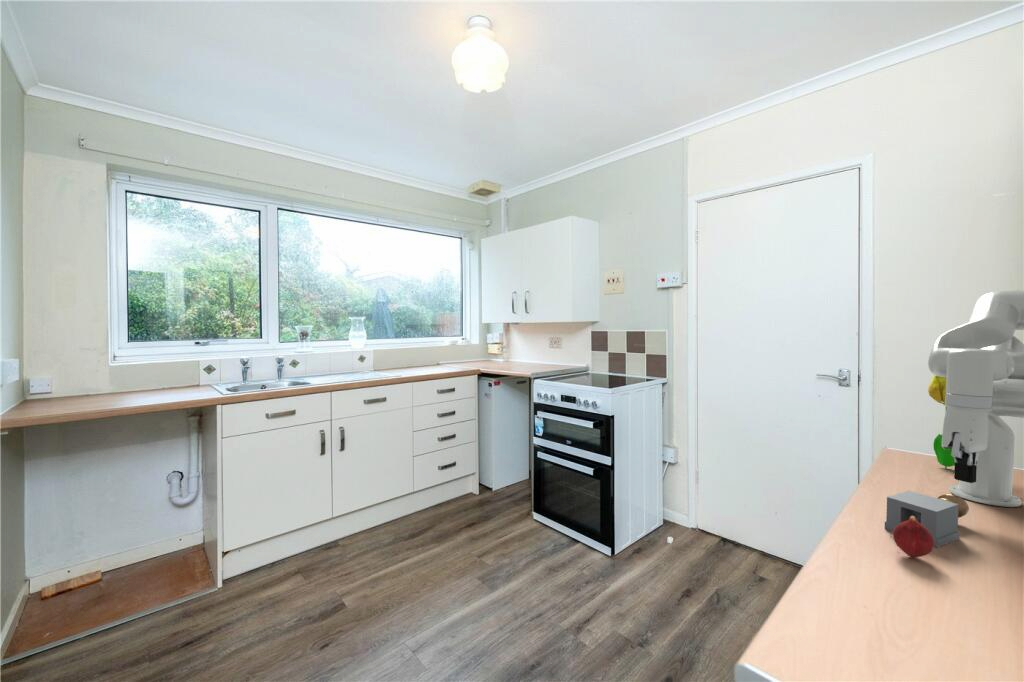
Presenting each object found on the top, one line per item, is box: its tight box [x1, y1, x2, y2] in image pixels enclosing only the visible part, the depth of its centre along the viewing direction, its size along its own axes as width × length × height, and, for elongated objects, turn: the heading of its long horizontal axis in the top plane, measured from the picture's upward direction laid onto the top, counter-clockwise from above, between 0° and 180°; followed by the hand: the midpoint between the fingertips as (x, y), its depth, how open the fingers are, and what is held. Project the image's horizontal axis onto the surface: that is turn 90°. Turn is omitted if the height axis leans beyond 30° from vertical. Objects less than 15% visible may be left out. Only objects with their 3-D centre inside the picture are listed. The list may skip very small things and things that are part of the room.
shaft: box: [919, 493, 970, 519], centre depth 96 cm, size 13×5×5 cm, turn 114°
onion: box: [892, 516, 935, 559], centre depth 83 cm, size 6×6×8 cm
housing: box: [884, 490, 961, 548], centre depth 93 cm, size 9×9×7 cm
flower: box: [927, 374, 955, 469], centre depth 136 cm, size 9×8×30 cm
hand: (964, 480), depth 101 cm, fingers closed
